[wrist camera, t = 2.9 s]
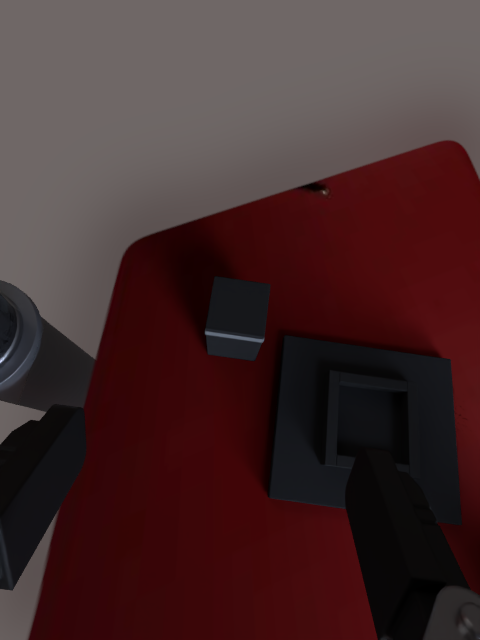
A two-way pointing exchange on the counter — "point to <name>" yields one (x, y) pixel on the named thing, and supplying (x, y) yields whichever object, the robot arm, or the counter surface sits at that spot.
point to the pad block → (236, 318)
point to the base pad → (362, 422)
